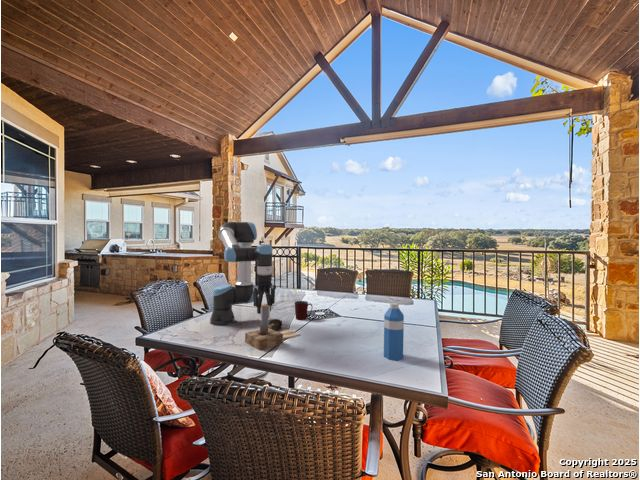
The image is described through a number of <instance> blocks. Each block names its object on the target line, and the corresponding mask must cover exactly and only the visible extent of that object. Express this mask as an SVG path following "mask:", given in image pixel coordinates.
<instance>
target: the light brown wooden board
mask: <svg viewBox="0 0 640 480" xmlns="http://www.w3.org/2000/svg"><path fill="white" fill-rule="evenodd" d="M277 332H280V333H282V334H283V341H285V340H288V339H291V338H295V337H299V336H301V335H300V333H298V332H296V331H294V330H290V329H288V328H286V329H282V330H278V331H277Z"/></svg>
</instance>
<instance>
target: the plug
mask: <svg viewBox="0 0 640 480" xmlns="http://www.w3.org/2000/svg"><path fill="white" fill-rule="evenodd" d="M261 307H262V320H259V321H260V323H259V330H260V332H262V333H265V332H268V325H269V318H268V304H267V303H262V304H261Z"/></svg>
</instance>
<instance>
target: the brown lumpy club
mask: <svg viewBox="0 0 640 480" xmlns="http://www.w3.org/2000/svg"><path fill="white" fill-rule="evenodd" d="M282 326H283V321H282V319H278V318H274V319H271V320H269V321H268V328H270V329H272V330H275V331H276V330H279V329H281V328H282Z"/></svg>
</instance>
